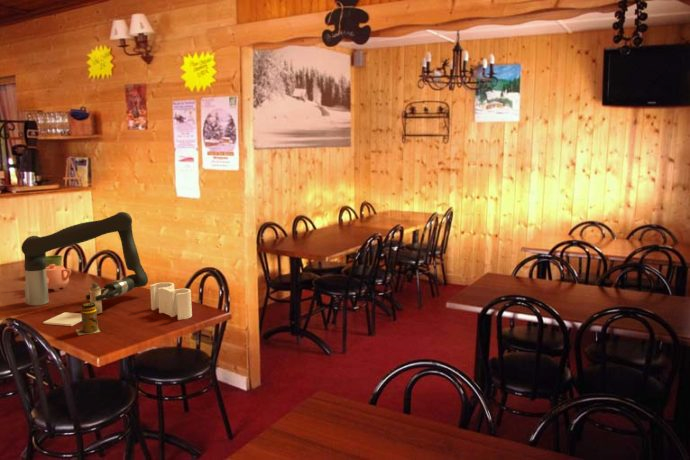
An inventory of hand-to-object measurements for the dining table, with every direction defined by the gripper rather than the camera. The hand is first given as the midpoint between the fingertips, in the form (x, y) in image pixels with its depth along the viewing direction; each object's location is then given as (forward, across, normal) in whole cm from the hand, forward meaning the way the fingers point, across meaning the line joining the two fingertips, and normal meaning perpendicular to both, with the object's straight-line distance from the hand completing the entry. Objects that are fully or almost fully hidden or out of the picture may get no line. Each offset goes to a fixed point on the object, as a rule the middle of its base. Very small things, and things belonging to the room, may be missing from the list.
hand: (91, 298), depth 261 cm
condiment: (+18, +13, +8) cm, 24 cm away
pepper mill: (-3, 0, +8) cm, 8 cm away
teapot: (-29, -51, +9) cm, 60 cm away
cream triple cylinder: (-15, +33, +8) cm, 37 cm away
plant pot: (-53, -72, +9) cm, 90 cm away
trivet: (+9, -6, +8) cm, 13 cm away
